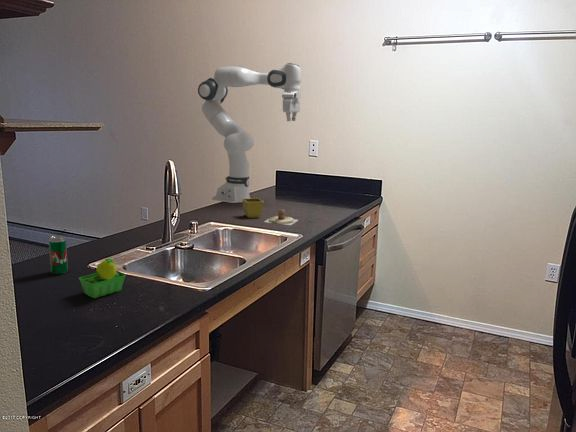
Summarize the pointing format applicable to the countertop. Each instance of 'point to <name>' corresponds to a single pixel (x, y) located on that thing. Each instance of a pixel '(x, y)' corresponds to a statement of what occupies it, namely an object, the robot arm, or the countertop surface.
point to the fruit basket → (103, 280)
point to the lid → (281, 218)
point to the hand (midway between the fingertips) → (291, 121)
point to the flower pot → (253, 207)
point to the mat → (284, 224)
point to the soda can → (58, 255)
